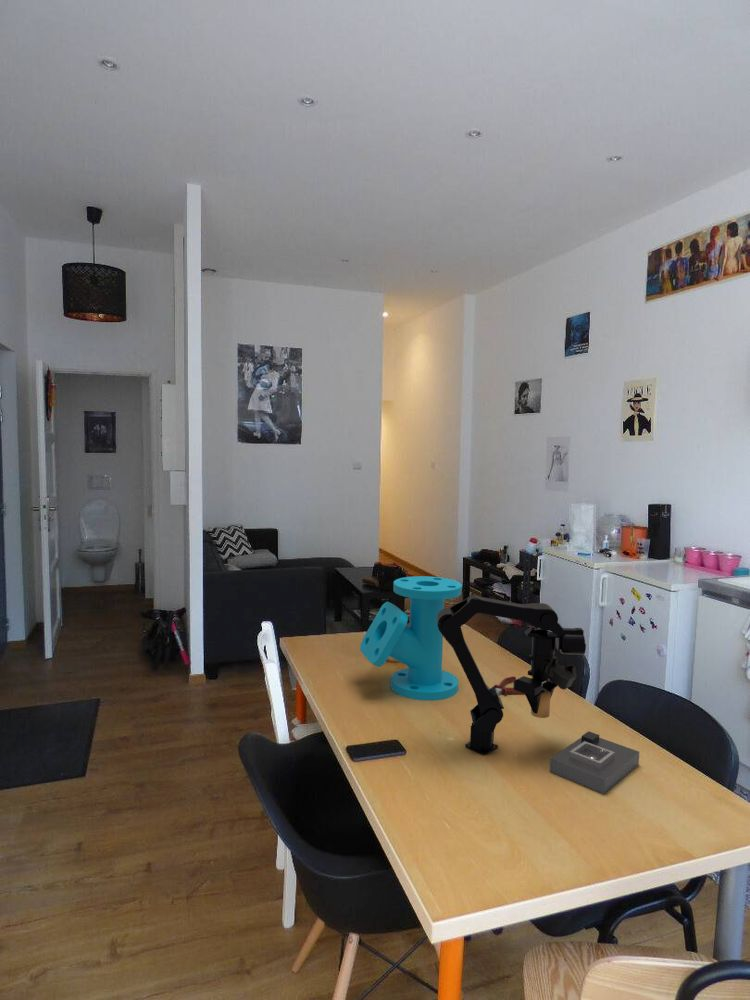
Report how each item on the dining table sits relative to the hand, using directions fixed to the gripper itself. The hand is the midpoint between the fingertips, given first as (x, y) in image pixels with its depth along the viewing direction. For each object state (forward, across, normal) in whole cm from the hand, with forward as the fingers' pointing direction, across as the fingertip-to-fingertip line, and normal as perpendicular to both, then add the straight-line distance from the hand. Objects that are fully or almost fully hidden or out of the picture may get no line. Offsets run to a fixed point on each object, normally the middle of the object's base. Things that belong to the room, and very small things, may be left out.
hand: (540, 710), depth 167 cm
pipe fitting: (+11, +7, +51) cm, 53 cm away
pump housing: (+1, 0, 0) cm, 1 cm away
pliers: (+12, +29, +29) cm, 43 cm away
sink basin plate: (+11, +2, -15) cm, 19 cm away
